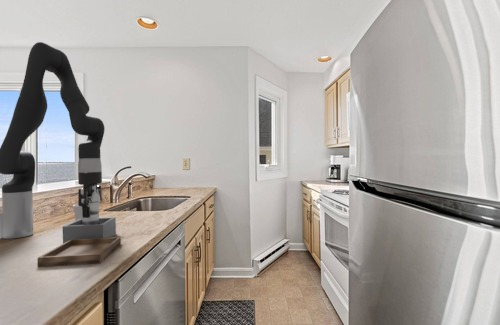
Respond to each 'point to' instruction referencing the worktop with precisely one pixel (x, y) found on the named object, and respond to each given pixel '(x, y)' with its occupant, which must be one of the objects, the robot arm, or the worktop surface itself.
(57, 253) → the tray
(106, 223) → the holder
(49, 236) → the worktop surface
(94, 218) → the plastic bottle
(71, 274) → the worktop surface
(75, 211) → the dixie cup
